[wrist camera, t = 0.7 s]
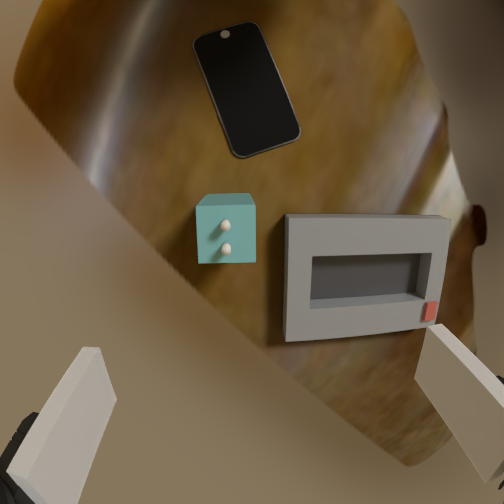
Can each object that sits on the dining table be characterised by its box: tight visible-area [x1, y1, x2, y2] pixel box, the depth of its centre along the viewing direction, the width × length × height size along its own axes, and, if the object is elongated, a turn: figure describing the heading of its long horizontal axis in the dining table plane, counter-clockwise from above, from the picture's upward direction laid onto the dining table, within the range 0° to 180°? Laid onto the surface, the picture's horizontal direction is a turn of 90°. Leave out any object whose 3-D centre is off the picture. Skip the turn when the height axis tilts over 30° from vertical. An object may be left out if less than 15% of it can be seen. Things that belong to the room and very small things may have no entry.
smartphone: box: [192, 21, 301, 158], centre depth 31 cm, size 8×1×15 cm
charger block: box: [196, 193, 256, 263], centre depth 29 cm, size 4×4×11 cm
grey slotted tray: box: [282, 214, 451, 342], centre depth 35 cm, size 14×20×3 cm
